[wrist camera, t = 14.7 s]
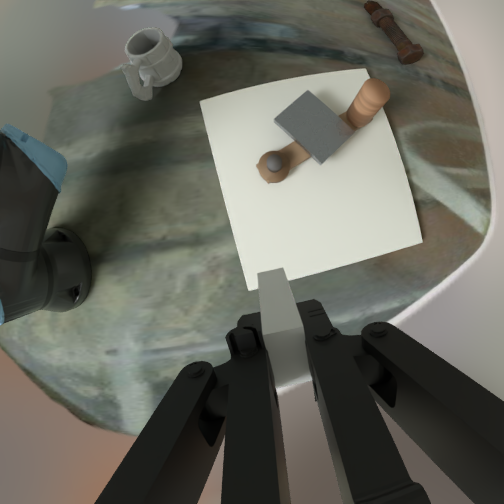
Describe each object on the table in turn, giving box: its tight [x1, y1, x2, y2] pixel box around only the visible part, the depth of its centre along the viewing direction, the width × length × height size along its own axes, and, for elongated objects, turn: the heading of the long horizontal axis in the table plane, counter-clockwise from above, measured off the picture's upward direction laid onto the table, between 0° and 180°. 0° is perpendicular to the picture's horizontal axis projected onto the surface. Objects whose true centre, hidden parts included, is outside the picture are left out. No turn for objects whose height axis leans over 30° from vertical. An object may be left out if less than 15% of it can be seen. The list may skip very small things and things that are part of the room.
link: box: [256, 78, 390, 184], centre depth 35 cm, size 19×4×10 cm, turn 123°
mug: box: [120, 28, 182, 101], centre depth 37 cm, size 8×12×12 cm, turn 167°
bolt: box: [364, 0, 424, 64], centre depth 38 cm, size 6×5×15 cm
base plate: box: [199, 69, 422, 291], centre depth 42 cm, size 28×30×2 cm
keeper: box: [274, 90, 355, 166], centre depth 39 cm, size 9×7×5 cm
